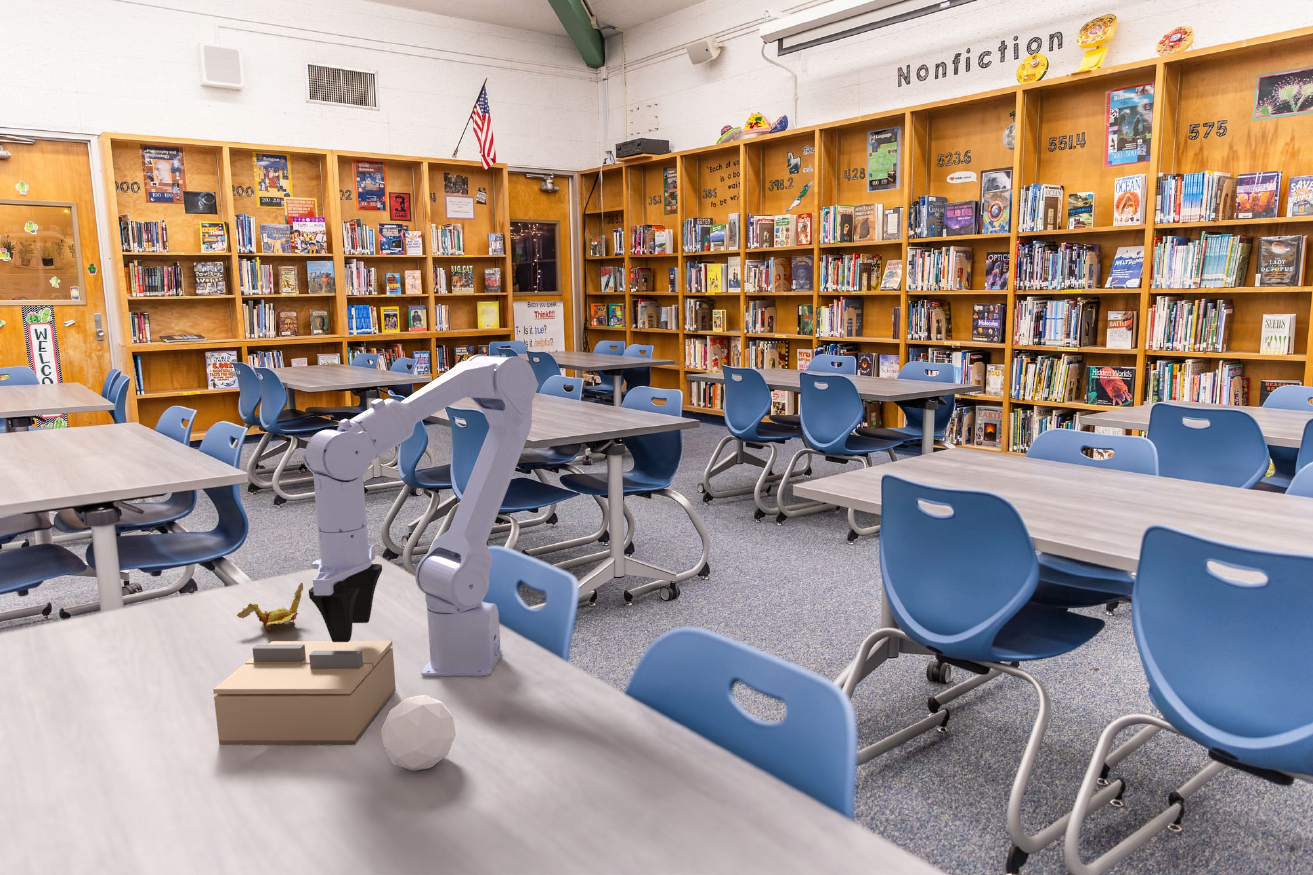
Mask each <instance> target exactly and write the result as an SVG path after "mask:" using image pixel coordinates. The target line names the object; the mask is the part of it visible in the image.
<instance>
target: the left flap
mask: <svg viewBox="0 0 1313 875" xmlns="http://www.w3.org/2000/svg"><path fill="white" fill-rule="evenodd" d="M309 659H310V664H245V663H244V664H242V665H241V666H239V667H238V668H237V669H236V670H235V671H234V672H232V673H231V674H230V675H228V676H227V677H226V678H225V679H224V680H222V681H221V682H220V683H219V684H217V686H215V687H214V688H213V689H212V690H213V691H212V692H213V695H216V694H351V693H352V691H353V690H354V689H355V688H356V687H357V686H358V684H359V683H360V682H361V681H362V680H363V679H364V678H365V676H366V675H367V674H368V673H369V672H370V671H371V669H372V664H363V657H362V651H313V652H312V653H311V654H310V655H309Z"/></svg>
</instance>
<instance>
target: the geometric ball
mask: <svg viewBox="0 0 1313 875" xmlns="http://www.w3.org/2000/svg"><path fill="white" fill-rule="evenodd" d="M382 724H383V725H382V727H381V729H380V732H381V737H382V744H383V748H384V750H385V752H386V754H387V755H388V757H389V759H390V760H391V762H392V763H393V765H395V766H399V767H401V768H404V769H407V770H411V771H413V772H414V771H419V770H420V771H421V770H426V769H431V768H432V767H434V766H435V765H436V764H438V763H439V762H440V761H441V760H443V759H444V758H446V757H447V755H449V752H450V750H451V749H452V748H451V747H452V746H453V743H454V740H455V738H456V735H457V733H456V728H455V721H454V716H453V715H452V713H451V711H450V710H449V709H448V708H447V706H446V704H445V703H444V702H443V701H441V700H439V699H436V698H433V697H432V696H429V695H426V694H420V695H415V696H410V697H406V698H405V699H403V700H402V701H401V702H400V703H398V704H397V705H395V706H394V707H392V708H391V709H390V710H389V712H388V714H387V716H386V718H385V720H384V723H382Z"/></svg>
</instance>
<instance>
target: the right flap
mask: <svg viewBox="0 0 1313 875" xmlns="http://www.w3.org/2000/svg"><path fill="white" fill-rule="evenodd" d="M390 647H393V640H350V641H349V642H332V640H314V641H313V640H312V641H311V640H309V641H308V640H307V641H305V640H302V641H300V640H298V641H297V640H293V641H291V640H290V641H289V640H287V641H286V640H284V641H283V640H282V641H281V640H279V641H278V640H277V641H276V640H275V641H270V642H269V643H268V644H256V645H255V646H254V647H253V648H252V655H253V656H252V657H251V658H249V659H248V660H247V661H245V662H244V664H310V659H309V655H310V654H311V653H312V652H313V651H362V657H363V664H372V667H374V666H375V665H376V664H377V662H378V661H379V660H380V659H381V658H382V657H383V656H384V654H385V653H386V652H387V651H388V650H389V649H390Z"/></svg>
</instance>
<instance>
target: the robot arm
mask: <svg viewBox="0 0 1313 875" xmlns="http://www.w3.org/2000/svg"><path fill="white" fill-rule="evenodd" d="M538 388H539V381H538V380H537V377H536V374H535V372H534V370H533V368H532V366H531V364H530V363H529V361H528V360H526V359H524V358H523V357H521V356H515V355H514V356H509V357H508V356H493V355H486V354H475V355H473V356H471V357H469V358H468V359H467V360H462V361H460V362H457V363H456V364H455V365H454V367H452V368H451V369H449V370H448V371H447V372H445V373H443V374H441V375H440V376H439V377H437V378H436V379H434V380H432V381H431V382H429V383H428V384H426V385H425V386H423V387H422V388H420V389H419V390H417V391H415V392H414V393H412V394H411V395H410V396H408V397H406V398H404V399H403V400H401V401H400V400H396V399H394V398H386V399H382V398H376V399H374V400H373V401H371V402H370V404H369V405H370V407H369V408H368V409H367V410H365V411H363V412H361V413H359V414H357V415H356V416H354V417H352V418H351V419H347V418H344V419H341V420H340V421H338V423H337V424H338V427H337V429H336V430H335V429H324V430H321V431H318V432H317V433H315V434H313V435H312V437H310V441H309V442H307V444H306V446H305V453H303V454H301V455H302V460H303V461H302V462H303V463H304V465H305V467H306V468H307V470H309V471H310V472H311V473H312V475H313V484H314V486H313V488H314V498H315V499H314V500H315V501H314V502H315V510H316V511H315V512H316V522H317V523H316V524H317V533H318V544H319V545H318V546H319V553H320V554H319V557H320V558H319V559H316V560H314V561H313V562H312V563H311V568H312V569H313V570H317V573H316V576H315V578H313V579H312V587H311V588H309V589H308V597H309V599H310V600H311V601H312V603H313V604H314V605H315V606H316V608H317V609H318V611H319V612H320V615H321V616H322V618H323V620H324V624H325V626H326V629H327V632H328V635H329V636H330V639H331V640H330V641H332V642H349V641H352V640H351V639H352V635H353V624H368V623H369V622H370V619H371V615H372V610H373V609H372V606H373V602H374V596H375V591H376V587H377V583H378V581H379V578H380V576H381V574H382V571H383V565H382V564H380V563H373V561H374V560H375V559H376V552H375V551H376V550H375V549H376V548H375V544H369V536H368V534H369V533H368V523H367V510H366V509H367V508H366V500H365V499H366V498H365V497H366V496H365V486H364V474H366V473H367V471H368V469H369V468H370V464H371V463H372V461H374V460H375V459H377V458H378V457H380V456H382V455H384V454H385V453H387V452H389V451H390V450H393V449H394V448H396V447H397V446H399V445H400V444H403V443H404V442H406V441H407V440H409V439H410V438H411V437H412V436H413V435H414V432H415V427H416V424H417V423H419V422H421V421H423V420H425V419H427V418H429V417H431V416H432V415H434V414H436V413H438V412H440V411H442V410H443V409H445V408H448V407H449V406H451V405H453V404H455V403H457V402H459V401H461V400H463V399H465V398H470V399H471V400H472V401H473V402H474V404H476V406H477V407H478V409H479V410H480V411H482V413H483V414H484V417H485V419H486V421H487V424H488V426H489V429H488V431H487V433H486V436H485V439H484V442H483V444H482V446H481V448H480V450H479V452H478V453H479V454H478V456H477V459H476V461H475V463H474V466H473V469H472V471H471V474H470V476H469V478H468V481H467V484H466V486H465V488H464V491H463V493H462V496H461V498H460V501H459V504H458V506H457V509H456V510H455V514H454V517H453V519H452V521H451V522H450V523H451V524H450V526H449V528H448V530H447V531H446V532H444V533H443V534H441V535H439V536H438V537H437V538H435V539H434V540H433V542H432V545H431V547H430V549H429V550H428V552H427V553H426V554H425V555H424V556H423V557H422V558H421V560H420V561H419V562H418V563H417V567H416V569H415V574H414V575H415V576H414V578H415V583H416V586H417V587H418V589H419V590H420V591H421V592H422V593H423V594H424V595H425V602H426V615H427V627H428V628H427V630H428V631H427V632H428V643H429V644H428V645H429V657H430V660H429V661H428V662H427V664H426V665H425V666H424V668H423V669H422V671H421V672H420V675H421V677H422V676H423V677H452V676H453V677H459V676H460V677H461V676H462V677H468V676H469V677H476V676H478V677H479V676H481V677H484V676H490V675H491V674H492V672H493V671H494V668H495V666H496V665H497V663H498V661H499V659H500V658H501V655H502V653H503V651H502V649H501V636H500V634H501V632H500V631H501V630H500V615H499V614H500V613H499V608H498V606H497V604H496V603H493V602H492V603H490V602H486V601H485V602H484V601H483V600H484V599H485V597H486V595H487V594H488V592H489V587H490V570H491V569H492V565H493V562H494V560H493V557H492V554H491V552H490V549H489V547H488V545H487V543H488V541H489V537H490V535H491V533H492V530H493V527H494V525H495V523H496V520H497V517H498V514H499V512H500V509H501V508H502V507H501V506H502V504H503V502H504V499H505V496H506V494H507V491H508V488H509V486H510V483H511V481H512V478H513V477H514V476H513V475H514V473H515V470H516V468H517V465H518V463H519V460H520V457H521V454H522V453H523V449H524V447H525V444H526V442H527V439H528V437H529V435H530V432H531V430H532V424H533V423H532V422H533V420H532V417H533V400H534V398H535V395H536V392H537V390H538Z"/></svg>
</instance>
